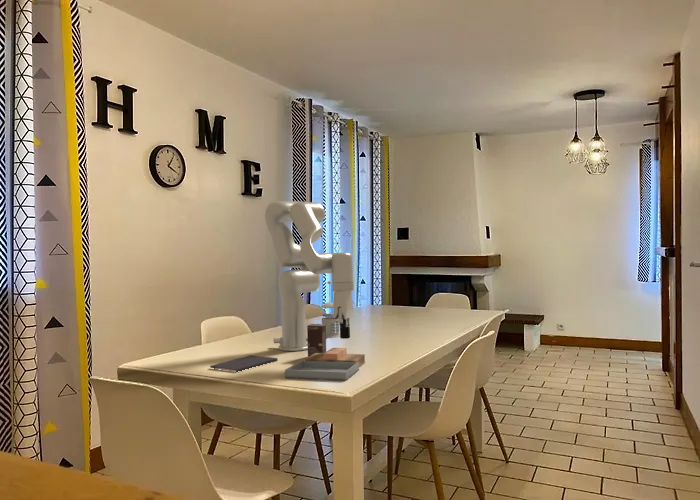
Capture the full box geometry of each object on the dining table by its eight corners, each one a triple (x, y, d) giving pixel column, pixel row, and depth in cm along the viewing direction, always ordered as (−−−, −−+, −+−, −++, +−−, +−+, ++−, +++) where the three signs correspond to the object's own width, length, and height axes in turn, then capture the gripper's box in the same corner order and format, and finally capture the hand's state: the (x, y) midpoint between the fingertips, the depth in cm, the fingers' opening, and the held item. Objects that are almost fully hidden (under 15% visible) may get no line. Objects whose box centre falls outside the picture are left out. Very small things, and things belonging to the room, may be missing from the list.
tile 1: (323, 359, 189) (323, 353, 189) (328, 356, 194) (327, 350, 194) (337, 359, 188) (337, 353, 188) (341, 356, 193) (341, 351, 193)
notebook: (236, 374, 186) (277, 362, 204) (236, 369, 186) (277, 358, 204) (208, 370, 192) (250, 359, 210) (208, 366, 192) (250, 355, 210)
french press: (315, 336, 255) (314, 281, 255) (330, 333, 265) (329, 280, 265) (332, 338, 250) (331, 282, 250) (348, 334, 259) (346, 280, 259)
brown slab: (304, 367, 191) (304, 359, 191) (315, 361, 201) (315, 352, 201) (356, 369, 186) (356, 360, 185) (364, 363, 196) (364, 354, 196)
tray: (284, 377, 177) (284, 369, 177) (301, 367, 191) (301, 360, 191) (346, 380, 171) (346, 372, 171) (358, 370, 185) (358, 362, 185)
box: (307, 358, 207) (306, 325, 207) (311, 355, 211) (311, 323, 211) (322, 358, 205) (322, 325, 205) (327, 356, 210) (326, 324, 210)
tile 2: (328, 356, 194) (328, 350, 194) (333, 353, 199) (332, 347, 199) (342, 356, 193) (342, 350, 193) (346, 353, 198) (346, 348, 198)
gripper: (339, 286, 211) (341, 335, 211) (326, 288, 197) (328, 341, 197) (358, 285, 209) (360, 335, 209) (347, 288, 195) (349, 341, 195)
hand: (345, 338), depth 203 cm, fingers closed
